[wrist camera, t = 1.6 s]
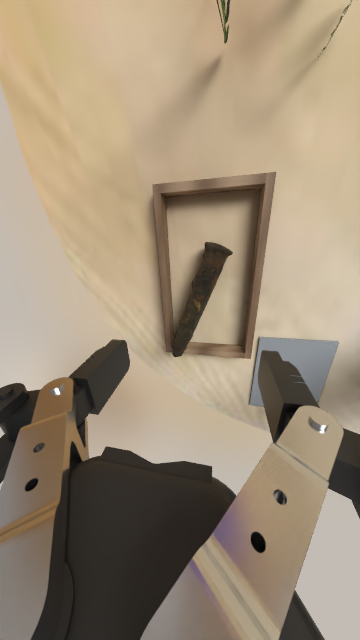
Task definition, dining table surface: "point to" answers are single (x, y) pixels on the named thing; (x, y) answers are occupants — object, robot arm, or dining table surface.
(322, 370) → the mat
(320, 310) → the dining table surface
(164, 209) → the wooden frame
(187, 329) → the hand tool
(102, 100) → the dining table surface
